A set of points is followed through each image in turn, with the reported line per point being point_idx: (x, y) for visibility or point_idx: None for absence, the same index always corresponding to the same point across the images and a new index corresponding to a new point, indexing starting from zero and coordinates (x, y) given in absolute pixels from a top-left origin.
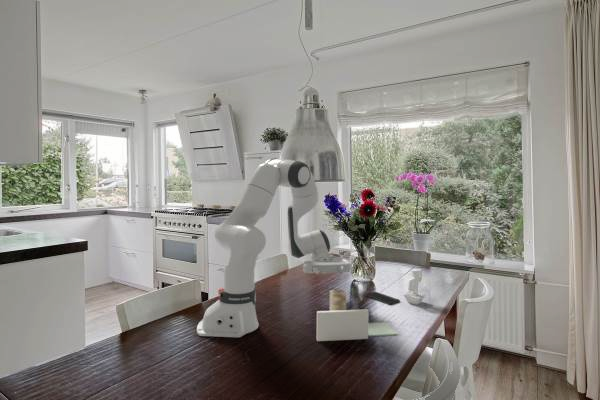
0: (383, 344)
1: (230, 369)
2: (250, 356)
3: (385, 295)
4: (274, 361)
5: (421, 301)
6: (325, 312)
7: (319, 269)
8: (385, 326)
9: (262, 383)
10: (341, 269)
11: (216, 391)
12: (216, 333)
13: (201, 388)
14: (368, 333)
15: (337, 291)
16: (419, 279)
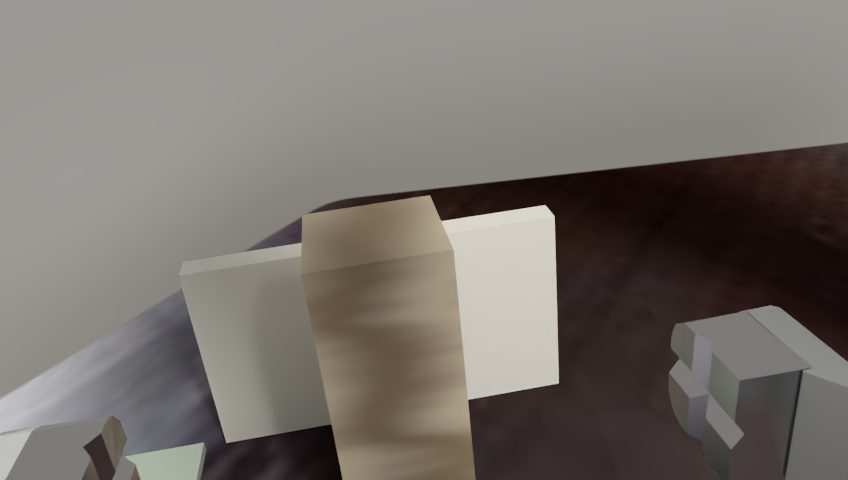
0: (170, 387)
1: (836, 198)
2: (828, 247)
3: None
4: (701, 240)
5: None
6: (492, 213)
7: (720, 338)
8: None
9: (678, 181)
10: (56, 425)
11: (789, 154)
12: None
13: (843, 153)
14: (198, 459)
15: (371, 241)
16: None
